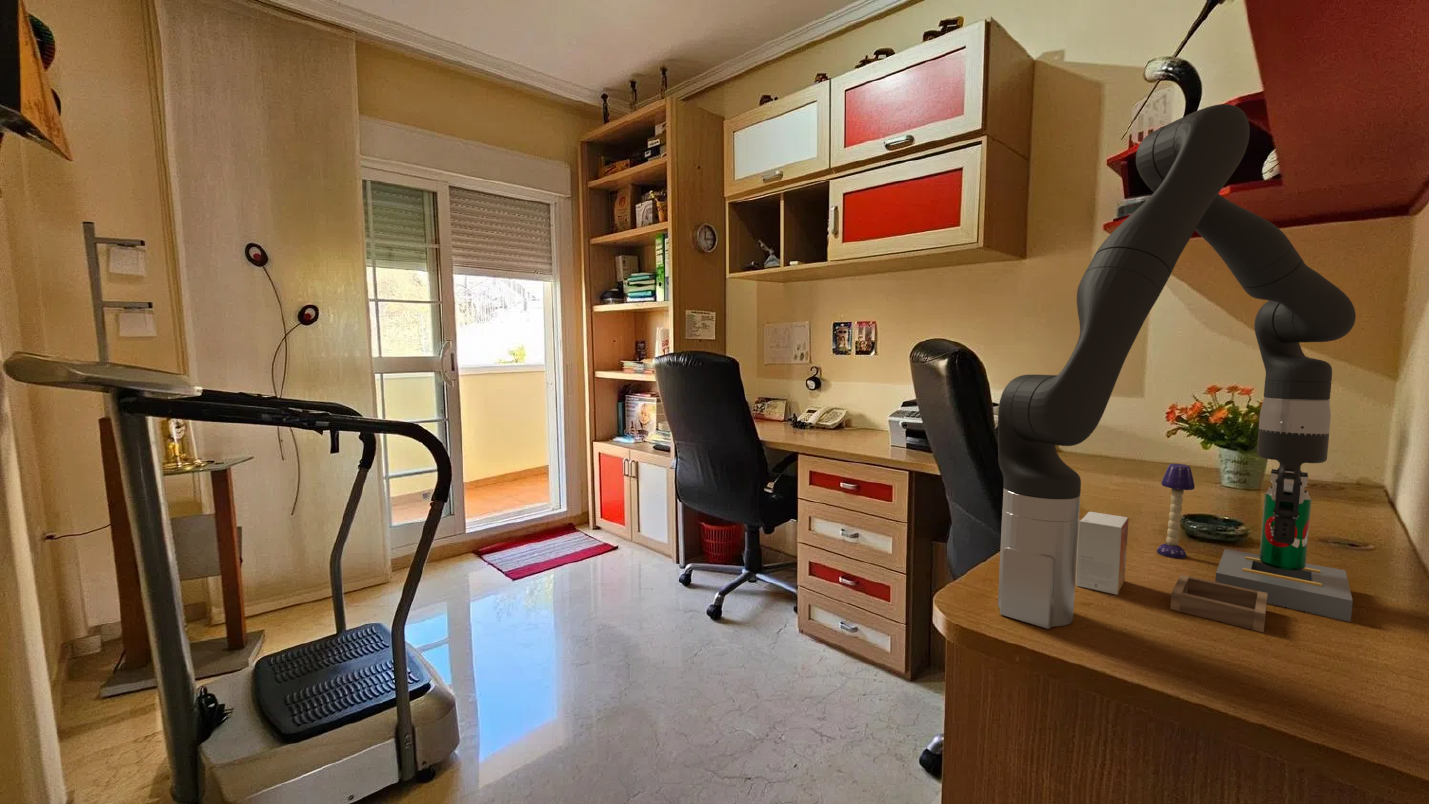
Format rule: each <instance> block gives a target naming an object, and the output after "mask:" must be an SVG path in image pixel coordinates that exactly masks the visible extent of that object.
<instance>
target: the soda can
mask: <svg viewBox="0 0 1429 804" xmlns="http://www.w3.org/2000/svg"><path fill="white" fill-rule="evenodd" d="M1271 494H1272V486H1269V487H1268V490H1267V491H1266V492H1265V493H1264V501H1263V508H1262V509H1263V512H1262V523H1261V533H1260V534H1261V535H1260V547H1259V555H1260V556H1259V559H1260V560H1261V561H1262V562H1263V563H1264V564H1265V565H1267V566H1270V567H1273V568H1277V569H1282V570H1288V571H1300V570H1302V569H1304V568H1305V567H1306V563H1307V556H1308V555H1307V553H1308V543H1309V532H1310V524H1311V523H1310V521H1311V510H1312V500H1313V499H1312V498H1311V497H1310V495H1309V494H1310V492H1309V491H1307V490H1305V489H1304V501H1303V504H1302V505H1299V507H1298V512H1299V518H1297V520H1296V526H1295V537H1294V543H1293V544H1286V543H1280V542H1276V541H1274V539H1273V536H1274V525H1275V517H1274V514H1273V509H1275V502H1274V501H1272V500H1271ZM1280 507H1281V508H1289V509H1294V505H1293V504H1292V503H1286V502H1281V503H1280V505H1279V508H1280Z"/></svg>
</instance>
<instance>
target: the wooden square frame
mask: <svg viewBox="0 0 1429 804" xmlns="http://www.w3.org/2000/svg"><path fill="white" fill-rule="evenodd" d="M1267 595H1268V593H1265V592H1261V591H1256V590H1251V589H1247V588H1242V587H1237V586H1233V585H1228V584H1223V583H1219V582H1215V580H1210V579H1209V580H1208V579H1204V578H1200V577H1196V576H1195V577H1194V576H1192V575H1191V576H1189V575H1185V574H1180V576H1179V578H1178V580H1177V581H1176V583H1175V585H1174V587H1173V588H1172V590H1171V594H1170V610H1173V611H1176V612H1180V613H1184V614H1189V615H1192V616H1196V617H1200V618H1205V619H1208V620H1212V621H1215V622H1220V623H1225V624H1228V625H1232V626H1236V627H1240V628H1244V629H1248V630H1252V631H1256V632H1260V633H1264V631H1265V624H1266V623H1265V622H1266V617H1267V616H1266V614H1267V606H1268V603H1267Z"/></svg>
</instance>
